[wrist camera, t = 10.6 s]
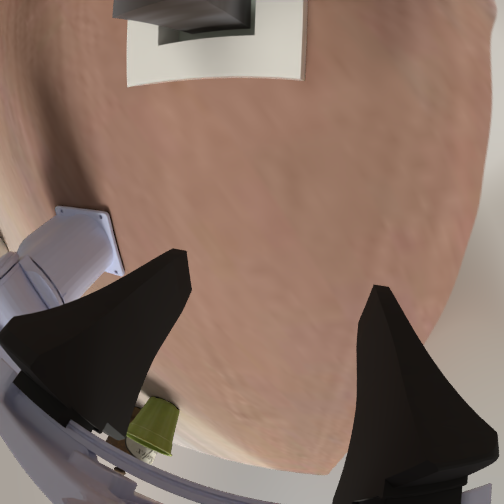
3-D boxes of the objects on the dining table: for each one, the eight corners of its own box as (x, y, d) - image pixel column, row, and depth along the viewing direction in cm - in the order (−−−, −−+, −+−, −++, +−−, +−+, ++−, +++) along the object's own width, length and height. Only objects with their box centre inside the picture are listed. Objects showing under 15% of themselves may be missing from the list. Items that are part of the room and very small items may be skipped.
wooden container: (178, 432, 67) (151, 490, 49) (144, 421, 73) (118, 472, 55) (149, 410, 60) (117, 475, 42) (116, 399, 66) (85, 454, 48)
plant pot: (148, 404, 56) (130, 439, 47) (136, 383, 49) (113, 424, 40) (192, 421, 54) (175, 460, 45) (186, 404, 48) (165, 450, 39)
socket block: (152, 84, 16) (127, 86, 14) (157, -34, 10) (135, -44, 8) (304, 81, 14) (300, 79, 12) (307, -54, 8) (302, -73, 6)
